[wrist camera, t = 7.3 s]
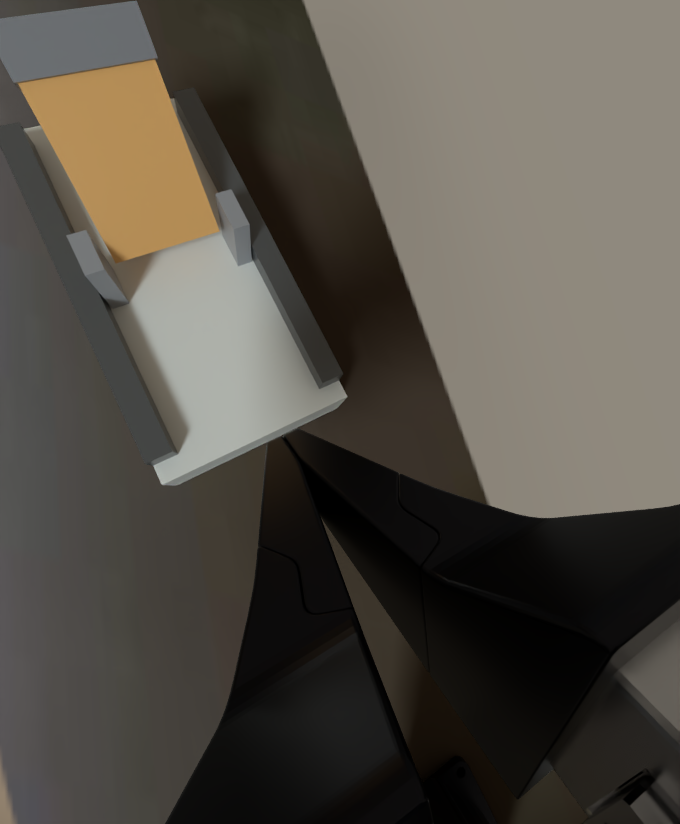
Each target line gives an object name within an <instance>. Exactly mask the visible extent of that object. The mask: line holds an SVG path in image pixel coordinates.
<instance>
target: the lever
mask: <svg viewBox="0 0 680 824" xmlns="http://www.w3.org/2000/svg"><path fill="white" fill-rule="evenodd" d="M0 58H1V60H2V62H3V64H4V66H5V68H6V69H7V71H8V73H9V75H10V77H11V79H12V80H13V82H14V84H15V85H16V86H17V87H18V88H19V89H20V90H21V91H22V92H23V94H24V96H25V97H26V99H27V101H28V103H29V105H30V107H31V108H32V110H33V112H34V114H35V116H36V118H37V120H38V121H39V123H40V125H41V127H42V129H43V131H44V132H45V134H46V136H47V138H48V140H49V142H50V143H51V145H52V147H53V149H54V151H55V153H56V154H57V156H58V158H59V160H60V162H61V164H62V166H63V167H64V169H65V171H66V173H67V175H68V177H69V178H70V180H71V182H72V184H73V186H74V188H75V189H76V191H77V193H78V195H79V197H80V199H81V200H82V202H83V204H84V206H85V208H86V210H87V212H88V213H89V215H90V217H91V219H92V221H93V223H94V224H95V226H96V228H97V230H98V232H99V234H100V235H101V237H102V239H103V241H104V243H105V245H106V246H107V248H108V250H109V252H110V254H111V256H112V257H113V259H114V261H115V263H119V262H123V261H126V260H129V259H132V258H135V257H139V256H142V255H145V254H148V253H152V252H155V251H158V250H161V249H165V248H168V247H171V246H174V245H177V244H181V243H184V242H187V241H190V240H194V239H197V238H200V237H203V236H207V235H210V234H213V233H216V232H219V231H220V230H219V228H218V225H217V223H216V220H215V217H214V215H213V212H212V209H211V207H210V204H209V201H208V199H207V196H206V193H205V191H204V188H203V185H202V183H201V180H200V177H199V175H198V172H197V169H196V167H195V164H194V161H193V159H192V156H191V153H190V151H189V148H188V146H187V143H186V140H185V138H184V135H183V132H182V130H181V127H180V124H179V122H178V119H177V116H176V114H175V111H174V108H173V106H172V103H171V100H170V98H169V95H168V92H167V90H166V87H165V84H164V82H163V79H162V76H161V74H160V71H159V69H158V66H157V59H158V57H157V54H156V52H155V49H154V46H153V44H152V41H151V38H150V36H149V33H148V30H147V27H146V25H145V22H144V19H143V17H142V14H141V11H140V9H139V6H138V3H137V1H131V2H123V3H115V4H108V5H100V6H93V7H85V8H77V9H70V10H62V11H55V12H47V13H39V14H32V15H24V16H17V17H9V18H1V19H0Z"/></svg>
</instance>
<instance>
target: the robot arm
mask: <svg viewBox="0 0 680 824" xmlns="http://www.w3.org/2000/svg"><path fill="white" fill-rule="evenodd" d="M320 516H321V517H320ZM321 518H322V519H323V521H324V522H325V524H326V525H327V527H328V528H329V530H330V531H331V533H332V534H333V535H334V537H335V538H336V540H337V541H338V543H339V544H340V545H341V547H342V548H343V550H344V551H345V553H346V554H347V556H348V557H349V558H350V560H351V561H352V563H353V564H354V566H355V567H356V569H357V570H358V571H359V573H360V574H361V576H362V577H363V579H364V580H365V581H366V583H367V584H368V586H369V587H370V589H371V590H372V592H373V593H374V594H375V596H376V597H377V599H378V600H379V602H380V603H381V605H382V606H383V607H384V609H385V610H386V612H387V613H388V615H389V616H390V617H391V619H392V620H393V622H394V623H395V625H396V626H397V628H398V629H399V630H400V632H401V633H402V635H403V636H404V638H405V639H406V641H407V642H408V643H409V645H410V646H411V648H412V649H413V651H414V652H415V653H416V655H417V656H418V658H419V659H420V661H421V662H422V664H423V665H424V666H425V668H426V669H427V671H428V672H430V675H431V677H432V678H433V680H434V681H435V682H436V684H437V685H438V687H439V688H440V690H441V691H442V692H443V694H444V695H445V697H446V698H447V700H448V701H449V703H450V704H451V705H452V707H453V708H454V710H455V711H456V713H457V714H458V715H459V717H460V718H461V720H462V721H463V723H464V724H465V726H466V727H467V728H468V730H469V731H470V733H471V734H472V736H473V737H474V738H475V740H476V741H477V743H478V744H479V746H480V747H481V749H482V750H483V751H484V753H485V754H486V756H487V757H488V759H489V760H490V761H491V763H492V764H493V766H494V767H495V769H496V770H497V772H498V773H499V774H500V776H501V777H502V779H503V780H504V782H505V783H506V784H507V786H508V787H509V789H510V790H511V792H512V793H513V794H514V796H515V797H516V799H519V798H521V797H522V796H523V795H524V794H525V793H526V792H527V791H529V790H530V789H531V788H532V787H533V786H534V785H535V784H537V783H538V782H539V781H540V780H541V779H542V778H543V777H545V776H546V775H547V774H548V773H549V772H550V771H551V770H553V769H554V770H555V772H556V773H557V774H558V776H559V777H560V779H561V780H562V781H563V783H564V784H565V786H566V787H567V788H568V790H569V791H570V792H571V794H572V795H573V797H574V798H575V799H576V801H577V802H578V804H579V805H580V806H581V808H582V809H583V810H584V812H585V813H586V815H587V816H588V818H587V819H586V820H585V821H584V822H583V823H582V824H680V504H679V505H674V506H670V507H663V508H655V509H646V510H635V511H624V512H612V513H602V514H592V515H580V516H570V517H559V518H535V517H528V516H522V515H519V514H515V513H511V512H508V511H505V510H502V509H499V508H495V507H492V506H489V505H486V504H483V503H480V502H477V501H473V500H470V499H467V498H464V497H461V496H458V495H455V494H452V493H449V492H446V491H443V490H440V489H437V488H434V487H432V486H429V485H427V484H424V483H422V482H419V481H417V480H414V479H412V478H410V477H408V476H405V475H403V474H400V475H399V473H398V472H396V471H394V470H391V469H389V468H387V467H384V466H382V465H380V464H378V463H375V462H373V461H371V460H369V459H366V458H364V457H362V456H359V455H357V454H355V453H353V452H350V451H348V450H346V449H344V448H341V447H339V446H337V445H334V444H332V443H330V442H328V441H325V440H323V439H321V438H318V437H316V436H314V435H312V434H309V433H307V432H305V431H303V430H300V429H295V430H293V431H290V432H288V433H286V434H284V437H282V436H279V437H277V438H275V439H272V440H270V441H268V442H267V446H266V458H265V470H264V481H263V493H262V505H261V517H260V529H259V540H258V547H259V548H258V550H257V562H256V570H255V579H254V586H253V592H252V597H251V602H250V607H249V612H248V617H247V621H246V626H245V630H244V635H243V639H242V644H241V648H240V653H239V657H238V662H237V666H236V671H235V675H234V680H233V684H232V688H231V692H230V695H229V699H228V702H227V706H226V708H225V711H224V714H223V717H222V719H221V721H220V723H219V726H218V728H217V730H216V732H215V734H214V736H213V738H212V739H211V741H210V743H209V745H208V747H207V749H206V750H205V752H204V754H203V756H202V758H201V759H200V761H199V763H198V765H197V767H196V769H195V770H194V772H193V774H192V776H191V778H190V779H189V781H188V783H187V785H186V787H185V789H184V790H183V792H182V794H181V796H180V798H179V799H178V801H177V803H176V805H175V807H174V809H173V810H172V812H171V814H170V816H169V818H168V819H167V821H166V823H165V824H497V822H496V820H495V818H494V816H493V814H492V812H491V810H490V808H489V806H488V804H487V802H486V800H485V798H484V796H483V794H482V792H481V790H480V788H479V786H478V784H477V782H476V780H475V778H474V776H473V774H472V772H471V770H470V768H469V766H468V765H467V763H466V762H465V761H464V759H463V758H462V757H460V756H456V757H454V758H452V759H451V760H450V761H449V762H447V763H446V764H445V765H444V766H443V767H441V768H440V769H439V770H438V771H437V772H436V773H434V774H433V775H432V776H431V777H430V778H428V779H427V780H426V781H425V782H424V783H422V781H421V779H420V777H419V774H418V772H417V769H416V767H415V764H414V762H413V759H412V757H411V754H410V752H409V749H408V747H407V744H406V741H405V739H404V736H403V734H402V731H401V729H400V726H399V724H398V721H397V718H396V716H395V713H394V711H393V708H392V706H391V703H390V701H389V698H388V696H387V693H386V690H385V688H384V685H383V683H382V680H381V678H380V675H379V673H378V670H377V667H376V665H375V662H374V660H373V657H372V655H371V652H370V650H369V647H368V645H367V642H366V639H365V637H364V634H363V631H362V629H361V626H360V623H359V621H358V618H357V615H356V612H355V610H354V607H353V604H352V602H351V599H350V596H349V593H348V591H347V588H346V585H345V582H344V580H343V577H342V574H341V571H340V569H339V566H338V563H337V560H336V558H335V555H334V552H333V550H332V547H331V544H330V541H329V539H328V536H327V533H326V530H325V528H324V525H323V522H322V519H321ZM459 767H462V768H461V771H460V772H458V773H457V769H458V768H459Z"/></svg>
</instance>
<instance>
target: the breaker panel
mask: <svg viewBox="0 0 680 824" xmlns="http://www.w3.org/2000/svg"><path fill="white" fill-rule="evenodd" d="M173 96H174V98H173V99H170V100H171V103H172V106H173V108H174V111H175V114H176V116H177V119H178V122H179V124H180V127H181V130H182V132H183V135H184V138H185V140H186V143H187V146H188V148H189V151H190V153H191V156H192V159H193V161H194V164H195V167H196V169H197V172H198V175H199V177H200V180H201V183H202V185H203V188H204V191H205V193H206V196H207V199H208V201H209V204H210V207H211V209H212V212H213V215H214V217H215V220H216V223H217V225H218V228H219V230H220V231H219V232H216V233H213V234H210V235H207V236H203V237H200V238H197V239H194V240H190V241H187V242H184V243H181V244H177V245H174V246H171V247H168V248H165V249H161V250H158V251H155V252H152V253H148V254H145V255H142V256H139V257H135V258H132V259H129V260H126V261H123V262H119V263H115V261H114V259H113V257H112V256H111V254H110V252H109V250H108V248H107V246H106V245H105V243H104V241H103V239H102V237H101V235H100V234H99V232H98V230H97V228H96V226H95V224H94V223H93V221H92V219H91V217H90V215H89V213H88V212H87V210H86V208H85V206H84V204H83V202H82V200H81V199H80V197H79V195H78V193H77V191H76V189H75V188H74V186H73V184H72V182H71V180H70V178H69V177H68V175H67V173H66V171H65V169H64V167H63V166H62V164H61V162H60V160H59V158H58V156H57V154H56V153H55V151H54V149H53V147H52V145H51V143H50V142H49V140H48V138H47V136H46V134H45V132H44V131H43V129H42V127H41V126H36V127H31V128H26V129H23V127H22V126H21V124H20V123H19V122H18V123H13V124H8V125H3V126H0V147H1V149H2V151H3V153H4V155H5V158H6V160H7V162H8V164H9V166H10V169H11V171H12V173H13V175H14V177H15V179H16V182H17V184H18V186H19V188H20V190H21V193H22V195H23V197H24V199H25V201H26V204H27V206H28V208H29V210H30V212H31V215H32V217H33V219H34V221H35V223H36V226H37V228H38V230H39V232H40V234H41V237H42V239H43V241H44V243H45V245H46V247H47V250H48V252H49V254H50V256H51V258H52V261H53V263H54V265H55V267H56V269H57V272H58V274H59V276H60V278H61V280H62V283H63V285H64V287H65V289H66V291H67V294H68V296H69V298H70V300H71V302H72V305H73V307H74V309H75V311H76V313H77V315H78V318H79V320H80V322H81V324H82V326H83V329H84V331H85V333H86V335H87V337H88V340H89V342H90V344H91V346H92V348H93V351H94V353H95V355H96V357H97V359H98V362H99V364H100V366H101V368H102V370H103V373H104V375H105V377H106V379H107V381H108V383H109V386H110V388H111V390H112V392H113V394H114V397H115V399H116V401H117V403H118V405H119V408H120V410H121V412H122V414H123V416H124V419H125V421H126V423H127V425H128V427H129V430H130V432H131V434H132V436H133V438H134V441H135V443H136V445H137V447H138V449H139V451H140V454H141V456H142V458H143V460H144V462H145V464H147V465H152V466H154V469H155V471H156V473H157V475H158V477H159V479H160V482H161V484H162V485H179V484H181V483H183V482H185V481H187V480H189V479H191V478H193V477H195V476H197V475H200V474H202V473H204V472H206V471H208V470H210V469H212V468H214V467H216V466H218V465H220V464H222V463H224V462H227V461H229V460H231V459H233V458H235V457H237V456H239V455H241V454H243V453H245V452H247V451H249V450H252V449H254V448H256V447H258V446H260V445H262V444H264V443H266V442H268V441H270V440H272V439H274V438H276V437H279V436H281V435H283V434H285V433H287V432H289V431H291V430H293V429H295V428H297V427H299V426H301V425H303V424H306V423H308V422H310V421H312V420H314V419H316V418H318V417H320V416H322V415H324V414H326V413H328V412H330V411H333V410H335V409H337V408H338V407H339V406H340V405H341V403H342V402H343V401H344V400H345V399H346V398H347V395H346V393H345V391H344V389H343V387H342V385H341V383H340V381H339V380H340V378H341V377H342V375H343V372H342V370H341V368H340V366H339V364H338V362H337V360H336V358H335V356H334V355H333V353H332V351H331V349H330V347H329V345H328V343H327V341H326V339H325V337H324V335H323V333H322V332H321V330H320V328H319V326H318V324H317V322H316V320H315V318H314V316H313V314H312V312H311V311H310V309H309V307H308V305H307V303H306V301H305V299H304V297H303V295H302V293H301V291H300V289H299V288H298V286H297V284H296V282H295V280H294V278H293V276H292V274H291V272H290V270H289V268H288V266H287V265H286V263H285V261H284V259H283V257H282V255H281V253H280V251H279V249H278V247H277V245H276V244H275V242H274V240H273V238H272V236H271V234H270V232H269V230H268V228H267V226H266V224H265V222H264V221H263V219H262V217H261V215H260V213H259V211H258V209H257V207H256V205H255V203H254V201H253V199H252V198H251V196H250V194H249V192H248V190H247V188H246V186H245V184H244V182H243V180H242V178H241V176H240V175H239V173H238V171H237V169H236V167H235V165H234V163H233V161H232V159H231V157H230V155H229V154H228V152H227V150H226V148H225V146H224V144H223V142H222V140H221V138H220V136H219V134H218V132H217V131H216V129H215V127H214V125H213V123H212V121H211V119H210V117H209V115H208V113H207V111H206V109H205V108H204V106H203V104H202V102H201V100H200V98H199V96H198V94H197V92H196V90H195V88H189V89H184V90H179V91H174V92H173Z"/></svg>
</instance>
